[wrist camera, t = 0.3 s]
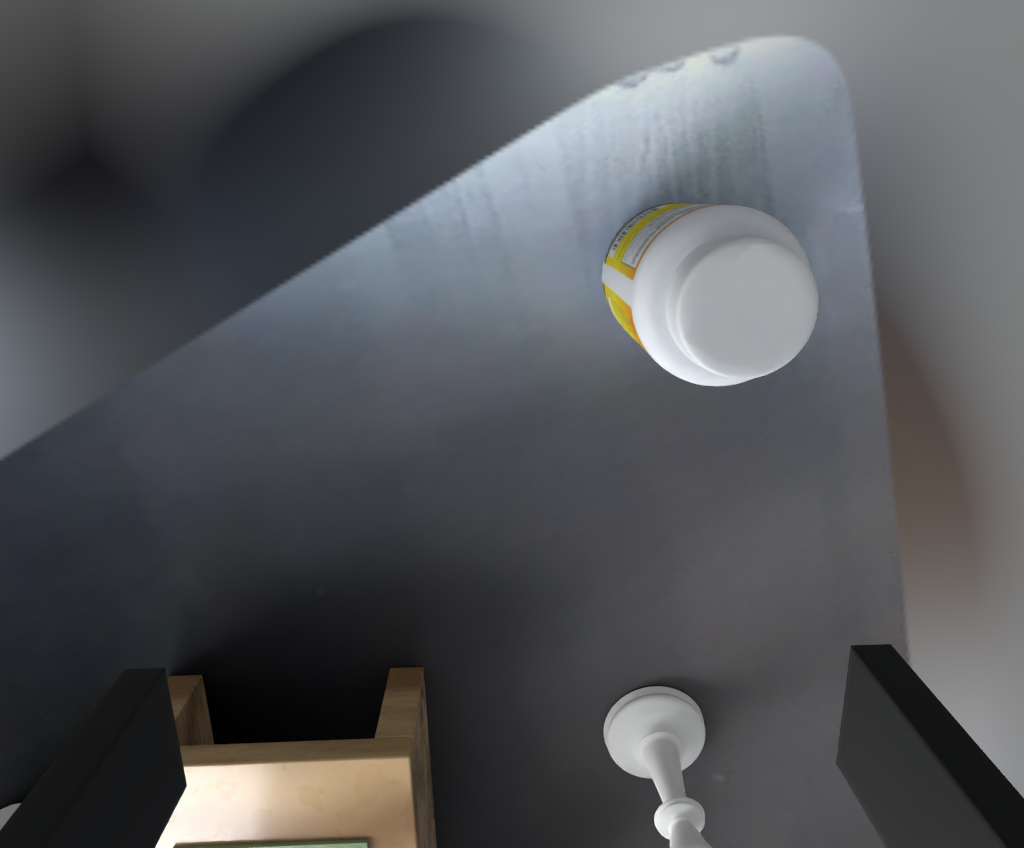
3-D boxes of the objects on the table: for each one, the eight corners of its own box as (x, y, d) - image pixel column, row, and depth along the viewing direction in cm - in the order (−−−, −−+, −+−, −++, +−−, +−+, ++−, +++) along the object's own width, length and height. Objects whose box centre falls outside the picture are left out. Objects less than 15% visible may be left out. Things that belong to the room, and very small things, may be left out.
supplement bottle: (719, 349, 32) (818, 421, 22) (588, 330, 31) (630, 394, 22) (751, 212, 30) (874, 223, 20) (613, 191, 30) (671, 191, 20)
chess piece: (601, 770, 38) (637, 966, 28) (605, 686, 36) (644, 862, 27) (699, 769, 38) (768, 963, 28) (707, 684, 36) (782, 860, 27)
